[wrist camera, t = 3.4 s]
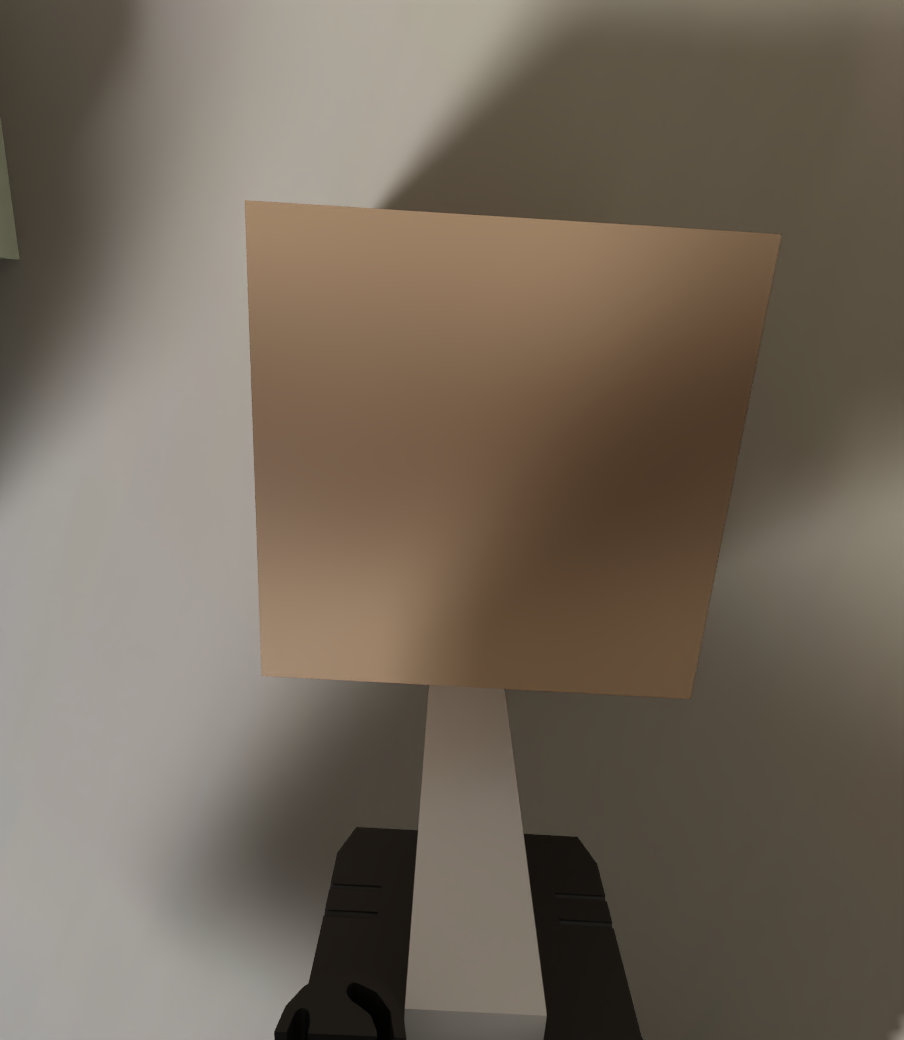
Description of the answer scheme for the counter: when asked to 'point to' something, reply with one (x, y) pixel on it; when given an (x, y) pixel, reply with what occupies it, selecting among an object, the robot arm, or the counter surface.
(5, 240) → the sage block
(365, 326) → the walnut block
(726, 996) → the counter surface
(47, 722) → the counter surface
